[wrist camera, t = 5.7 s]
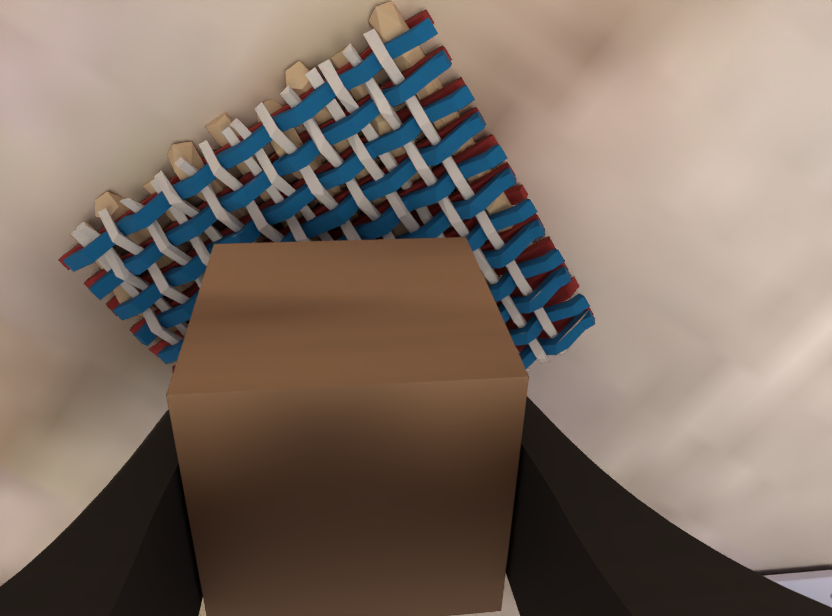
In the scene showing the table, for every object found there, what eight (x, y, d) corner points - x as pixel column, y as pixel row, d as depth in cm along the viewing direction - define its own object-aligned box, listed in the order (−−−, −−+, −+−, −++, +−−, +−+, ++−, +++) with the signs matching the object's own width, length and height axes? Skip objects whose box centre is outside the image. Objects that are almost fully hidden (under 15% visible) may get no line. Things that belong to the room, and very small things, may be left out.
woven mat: (48, 223, 18) (18, 258, 16) (407, -22, 16) (417, -13, 14) (296, 475, 23) (294, 522, 21) (591, 309, 21) (616, 345, 19)
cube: (454, 431, 17) (500, 610, 13) (238, 444, 16) (210, 636, 12) (466, 237, 14) (529, 376, 10) (214, 244, 14) (165, 395, 10)
